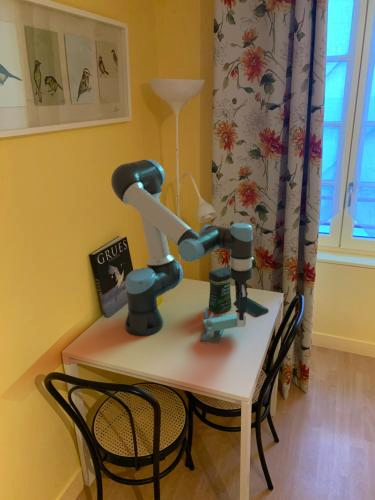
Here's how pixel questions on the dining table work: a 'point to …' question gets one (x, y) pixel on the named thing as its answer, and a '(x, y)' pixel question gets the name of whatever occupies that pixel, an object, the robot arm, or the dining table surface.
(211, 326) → the cover
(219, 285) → the coffee jar
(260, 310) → the phone
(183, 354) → the dining table surface
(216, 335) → the slotted block with rod
